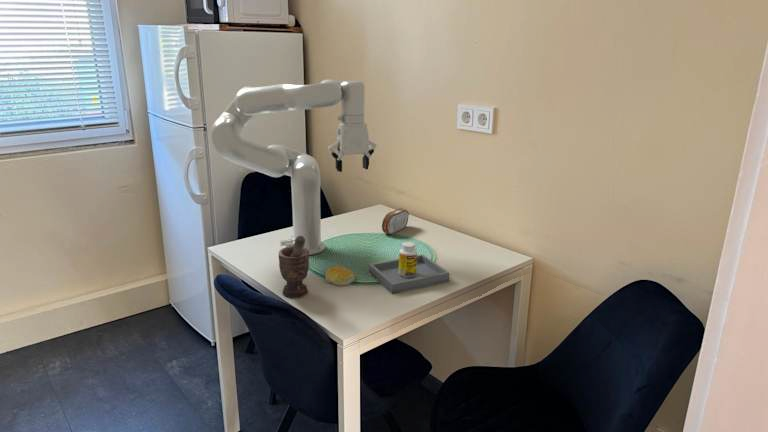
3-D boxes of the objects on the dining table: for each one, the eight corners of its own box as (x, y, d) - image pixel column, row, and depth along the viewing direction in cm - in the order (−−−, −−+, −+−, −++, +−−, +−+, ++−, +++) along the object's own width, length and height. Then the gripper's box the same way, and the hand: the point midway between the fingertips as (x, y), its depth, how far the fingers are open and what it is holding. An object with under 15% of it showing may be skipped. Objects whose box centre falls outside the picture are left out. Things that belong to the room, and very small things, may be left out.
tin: (403, 225, 212) (403, 205, 210) (409, 227, 211) (410, 206, 208) (380, 235, 201) (381, 214, 198) (387, 237, 199) (388, 216, 196)
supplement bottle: (405, 279, 163) (406, 248, 159) (394, 272, 167) (396, 242, 164) (419, 275, 166) (421, 245, 162) (409, 269, 170) (410, 239, 167)
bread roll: (337, 272, 170) (337, 260, 168) (358, 280, 164) (359, 268, 163) (319, 280, 164) (319, 268, 162) (340, 289, 158) (340, 277, 157)
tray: (392, 293, 156) (392, 284, 155) (368, 272, 169) (368, 264, 168) (448, 281, 164) (449, 272, 163) (422, 262, 178) (422, 254, 177)
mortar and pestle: (322, 296, 153) (321, 231, 147) (298, 306, 147) (296, 239, 141) (297, 283, 161) (296, 221, 154) (274, 292, 155) (271, 228, 148)
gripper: (332, 122, 168) (332, 174, 173) (381, 119, 175) (380, 170, 181) (324, 118, 174) (324, 169, 179) (371, 116, 181) (370, 165, 187)
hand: (352, 169), depth 180 cm, fingers open, 9 cm apart
